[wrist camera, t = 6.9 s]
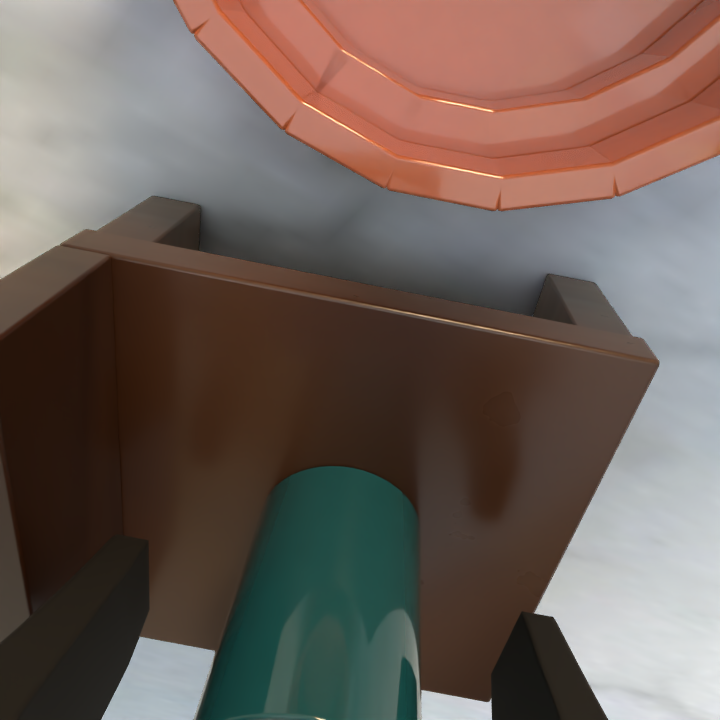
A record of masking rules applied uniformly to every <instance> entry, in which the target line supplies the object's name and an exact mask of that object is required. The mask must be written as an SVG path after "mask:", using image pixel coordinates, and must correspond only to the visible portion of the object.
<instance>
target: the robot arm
mask: <svg viewBox="0 0 720 720" xmlns="http://www.w3.org/2000/svg"><path fill="white" fill-rule="evenodd" d="M149 610H150V606H149V540H145V539H140V538H134V537H129V536H124V535H119V534H116V535H115V536H113V537H111V538H110V539H109V540H108V541H107V542H106V543H105V544H104V545H103V546H102V547H101V549H100V550H99V551H98V552H97V553H96V554H95V555H94V556H93V557H92V558H91V559H90V560H89V561H88V562H87V563H86V564H85V565H84V566H83V567H82V568H81V569H80V570H79V571H78V572H77V573H76V574H75V575H74V576H72V577H71V578H70V579H69V580H68V581H67V582H66V583H65V584H64V585H63V586H62V587H61V588H60V589H59V590H58V591H57V592H56V593H55V594H54V595H53V596H52V597H50V598H49V599H48V600H47V601H46V602H45V603H44V604H43V605H42V606H41V607H40V608H38V609H37V610H36V611H35V612H34V613H33V614H32V615H31V616H30V617H29V618H27V619H26V620H25V621H24V622H23V623H22V624H21V625H20V626H19V627H18V628H16V629H15V630H14V631H13V632H12V633H11V634H10V635H9V636H7V637H6V638H5V639H4V640H3V641H2V642H0V720H101V719H102V717H103V715H104V713H105V711H106V709H107V707H108V705H109V703H110V701H111V699H112V697H113V695H114V693H115V691H116V689H117V687H118V685H119V683H120V681H121V679H122V677H123V675H124V673H125V671H126V669H127V667H128V665H129V662H130V660H131V657H132V654H133V652H134V649H135V647H136V644H137V642H138V639H139V636H140V634H141V631H142V628H143V626H144V623H145V620H146V618H147V615H148V612H149ZM491 698H492V720H608V718H607V717H606V715H605V713H604V711H603V709H602V708H601V706H600V704H599V702H598V700H597V699H596V697H595V695H594V693H593V691H592V689H591V687H590V686H589V684H588V682H587V680H586V678H585V676H584V674H583V672H582V671H581V669H580V667H579V665H578V663H577V661H576V659H575V657H574V655H573V653H572V651H571V649H570V648H569V646H568V644H567V642H566V640H565V638H564V636H563V634H562V632H561V630H560V628H559V626H558V624H557V622H556V621H555V619H554V618H553V617H549V616H544V615H539V614H534V613H528V612H523V611H522V612H521V614H520V616H519V618H518V620H517V622H516V624H515V626H514V628H513V630H512V632H511V634H510V636H509V638H508V640H507V642H506V644H505V646H504V649H503V651H502V653H501V655H500V657H499V659H498V661H497V663H496V665H495V667H494V669H493V671H492V673H491Z"/></svg>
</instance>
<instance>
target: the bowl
mask: <svg viewBox="0 0 720 720" xmlns="http://www.w3.org/2000/svg"><path fill="white" fill-rule="evenodd" d="M173 2H174V4H175V5H176V7H177V9H178V11H179V13H180V15H181V17H182V18H183V20H184V22H185V24H186V26H187V28H188V29H189V31H190V32H191V33H192V34H194V37H195V39H196V40H197V42H198V43H199V44H200V45H201V46H202V47H203V48H204V49H205V50H206V51H207V52H208V53H209V54H210V55H211V56H212V57H213V58H214V59H215V60H216V62H217V63H218V64H219V65H220V66H221V67H222V68H223V69H224V70H225V71H226V72H227V73H228V74H229V75H230V76H231V77H232V78H233V79H234V81H235V82H236V83H237V84H238V85H239V86H240V87H241V88H242V89H243V90H244V91H245V92H246V93H247V94H248V95H249V96H250V97H251V98H252V99H253V101H254V102H255V103H256V104H257V105H258V106H259V107H260V108H261V109H262V110H263V111H264V112H265V113H266V114H267V115H268V116H269V117H270V118H271V119H272V121H273V122H274V123H275V124H276V125H277V126H278V127H279V128H280V129H282V130H285V132H286V134H287V135H289V136H291V137H293V138H295V139H296V140H298V141H300V142H302V143H303V144H305V145H307V146H309V147H311V148H312V149H314V150H316V151H318V152H319V153H321V154H323V155H325V156H326V157H328V158H330V159H332V160H334V161H335V162H337V163H339V164H341V165H342V166H344V167H346V168H348V169H350V170H351V171H353V172H355V173H357V174H358V175H360V176H362V177H364V178H365V179H367V180H369V181H371V182H373V183H374V184H376V185H378V186H380V187H381V188H386V187H387V189H388V190H389V191H394V192H399V193H404V194H409V195H414V196H419V197H424V198H429V199H434V200H439V201H444V202H449V203H454V204H459V205H464V206H469V207H474V208H479V209H484V210H489V211H496V210H497V209H498V211H509V210H518V209H526V208H535V207H544V206H553V205H561V204H570V203H579V202H587V201H596V200H605V199H612V198H614V197H615V196H622V195H625V194H627V193H629V192H632V191H634V190H637V189H639V188H641V187H644V186H646V185H649V184H651V183H653V182H656V181H658V180H661V179H663V178H666V177H668V176H670V175H673V174H675V173H678V172H680V171H682V170H685V169H687V168H690V167H692V166H694V165H697V164H699V163H702V162H704V161H706V160H709V159H711V158H714V157H716V156H719V155H720V0H173Z"/></svg>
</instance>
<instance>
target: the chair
mask: <svg viewBox="0 0 720 720" xmlns="http://www.w3.org/2000/svg"><path fill="white" fill-rule="evenodd" d="M199 231H200V206H199V205H197V204H192V203H187V202H182V201H177V200H172V199H166V198H161V197H156V196H151V197H149V198H148V199H146V200H145V201H143V202H141V203H140V204H138V205H137V206H135V207H134V208H132V209H130V210H129V211H127V212H126V213H124V214H122V215H121V216H119V217H118V218H116V219H114V220H113V221H111V222H110V223H108V224H107V225H105V226H103V227H102V228H100V229H99V230H97V231H94V230H89V229H85V230H83V231H81V232H79V233H78V234H76V235H74V236H73V237H71V238H69V239H68V240H66V241H64V242H63V243H61V244H60V246H55V247H53V248H52V249H50V250H49V251H47V252H45V253H44V254H42V255H40V256H39V257H37V258H35V259H34V260H32V261H30V262H29V263H27V264H25V265H24V266H22V267H20V268H19V269H17V270H15V271H14V272H12V273H10V274H9V275H7V276H5V277H4V278H2V279H0V642H2V641H3V640H4V639H5V638H6V637H7V636H9V635H10V634H11V633H12V632H13V631H14V630H15V629H16V628H18V627H19V626H20V625H21V624H22V623H23V622H24V621H25V620H26V619H27V618H29V617H30V616H31V615H32V614H33V613H34V612H35V611H36V610H37V609H38V608H40V607H41V606H42V605H43V604H44V603H45V602H46V601H47V600H48V599H49V598H50V597H52V596H53V595H54V594H55V593H56V592H57V591H58V590H59V589H60V588H61V587H62V586H63V585H64V584H65V583H66V582H67V581H68V580H69V579H70V578H71V577H72V576H74V575H75V574H76V573H77V572H78V571H79V570H80V569H81V568H82V567H83V566H84V565H85V564H86V563H87V562H88V561H89V560H90V559H91V558H92V557H93V556H94V555H95V554H96V553H97V552H98V551H99V550H100V549H101V547H102V546H103V545H104V544H105V543H106V542H107V541H108V540H109V539H110V538H111V537H113V536H115V535H116V534H119V535H124V536H129V537H134V538H140V539H145V540H149V606H150V610H149V612H148V615H147V618H146V620H145V623H144V626H143V628H142V631H141V634H140V636H139V637H145V638H150V639H155V640H161V641H166V642H171V643H177V644H182V645H187V646H192V647H198V648H203V649H208V650H214V651H216V648H217V645H218V642H219V639H220V636H221V633H222V630H223V627H224V624H225V620H226V617H227V614H228V611H229V608H230V605H231V602H232V599H233V596H234V593H235V590H236V587H237V584H238V580H239V577H240V574H241V571H242V568H243V565H244V562H245V559H246V556H247V553H248V550H249V547H250V544H251V541H252V537H253V534H254V531H255V528H256V525H257V522H258V519H259V516H260V513H261V510H262V507H263V504H264V502H265V499H266V498H267V496H268V495H269V493H270V492H271V491H272V490H273V488H274V487H275V486H276V485H278V484H279V483H280V482H281V481H282V480H284V479H285V478H287V477H289V476H290V475H292V474H295V473H297V472H299V471H302V470H306V469H309V468H314V467H320V466H345V467H352V468H357V469H361V470H365V471H367V472H370V473H373V474H375V475H377V476H380V477H382V478H384V479H385V480H387V481H388V482H390V483H392V484H393V485H394V486H396V487H397V488H398V489H399V490H400V491H401V492H402V493H403V494H404V495H405V496H406V497H407V498H408V499H409V501H410V502H411V504H412V505H413V507H414V509H415V511H416V513H417V515H418V518H419V522H420V529H421V690H425V691H431V692H436V693H441V694H447V695H452V696H457V697H463V698H468V699H473V700H478V701H484V702H489V701H490V700H491V673H492V671H493V669H494V667H495V665H496V663H497V661H498V659H499V657H500V655H501V653H502V651H503V649H504V646H505V644H506V642H507V640H508V638H509V636H510V634H511V632H512V630H513V628H514V626H515V624H516V622H517V620H518V618H519V616H520V614H521V612H522V611H523V612H528V613H534V612H535V610H536V608H537V607H538V605H539V603H540V601H541V599H542V597H543V595H544V593H545V591H546V589H547V587H548V585H549V583H550V581H551V579H552V577H553V575H554V573H555V571H556V569H557V567H558V565H559V563H560V561H561V559H562V557H563V555H564V553H565V551H566V549H567V547H568V545H569V543H570V541H571V539H572V537H573V535H574V533H575V531H576V529H577V527H578V525H579V523H580V521H581V519H582V517H583V515H584V513H585V511H586V509H587V507H588V505H589V503H590V502H591V500H592V498H593V496H594V494H595V492H596V490H597V488H598V486H599V484H600V482H601V480H602V478H603V476H604V474H605V472H606V470H607V468H608V466H609V464H610V462H611V460H612V458H613V456H614V454H615V452H616V450H617V448H618V446H619V444H620V442H621V440H622V438H623V436H624V434H625V432H626V430H627V428H628V426H629V424H630V422H631V420H632V418H633V416H634V414H635V412H636V410H637V408H638V406H639V404H640V402H641V400H642V398H643V397H644V395H645V393H646V391H647V389H648V387H649V385H650V383H651V381H652V379H653V377H654V375H655V373H656V371H657V369H658V367H659V360H658V359H657V357H656V356H655V354H654V353H653V352H652V350H651V349H650V347H649V346H648V345H647V343H646V342H645V341H644V340H643V339H642V338H638V337H633V336H632V335H631V333H630V332H629V330H628V329H627V328H626V326H625V325H624V323H623V322H622V320H621V319H620V318H619V316H618V315H617V313H616V312H615V310H614V309H613V307H612V306H611V305H610V303H609V302H608V300H607V299H606V297H605V296H604V295H603V293H602V292H601V290H600V289H599V287H598V286H597V285H596V284H595V283H592V282H587V281H582V280H577V279H572V278H567V277H562V276H557V275H552V274H548V276H547V278H546V280H545V283H544V286H543V289H542V292H541V294H540V297H539V300H538V303H537V306H536V308H535V311H534V314H533V317H531V316H526V315H521V314H516V313H511V312H506V311H501V310H496V309H490V308H485V307H480V306H475V305H470V304H465V303H460V302H455V301H450V300H445V299H440V298H434V297H429V296H424V295H419V294H414V293H409V292H404V291H399V290H394V289H389V288H384V287H379V286H373V285H368V284H363V283H358V282H353V281H348V280H343V279H338V278H333V277H328V276H323V275H318V274H312V273H307V272H302V271H297V270H292V269H287V268H282V267H277V266H272V265H267V264H262V263H256V262H251V261H246V260H241V259H236V258H231V257H226V256H221V255H216V254H211V253H206V252H201V251H199Z"/></svg>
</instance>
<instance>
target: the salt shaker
mask: <svg viewBox="0 0 720 720" xmlns="http://www.w3.org/2000/svg"><path fill="white" fill-rule="evenodd" d="M193 720H422V714H421V529H420V522H419V518H418V515H417V513H416V511H415V509H414V507H413V505H412V504H411V502H410V501H409V499H408V498H407V497H406V496H405V495H404V494H403V493H402V492H401V491H400V490H399V489H398V488H397V487H396V486H394V485H393V484H392V483H390V482H388V481H387V480H385V479H384V478H382V477H380V476H377V475H375V474H373V473H370V472H367V471H365V470H361V469H357V468H352V467H345V466H320V467H314V468H309V469H306V470H302V471H299V472H297V473H295V474H292V475H290V476H289V477H287V478H285V479H284V480H282V481H281V482H280V483H279V484H278V485H276V486H275V487H274V488H273V490H272V491H271V492H270V493H269V495H268V496H267V498H266V499H265V502H264V504H263V507H262V510H261V513H260V516H259V519H258V522H257V525H256V528H255V531H254V534H253V537H252V541H251V544H250V547H249V550H248V553H247V556H246V559H245V562H244V565H243V568H242V571H241V574H240V577H239V580H238V584H237V587H236V590H235V593H234V596H233V599H232V602H231V605H230V608H229V611H228V614H227V617H226V620H225V624H224V627H223V630H222V633H221V636H220V639H219V642H218V645H217V648H216V651H215V654H214V657H213V660H212V664H211V667H210V670H209V673H208V676H207V679H206V682H205V685H204V688H203V691H202V694H201V697H200V700H199V704H198V707H197V710H196V713H195V716H194V719H193Z"/></svg>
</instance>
